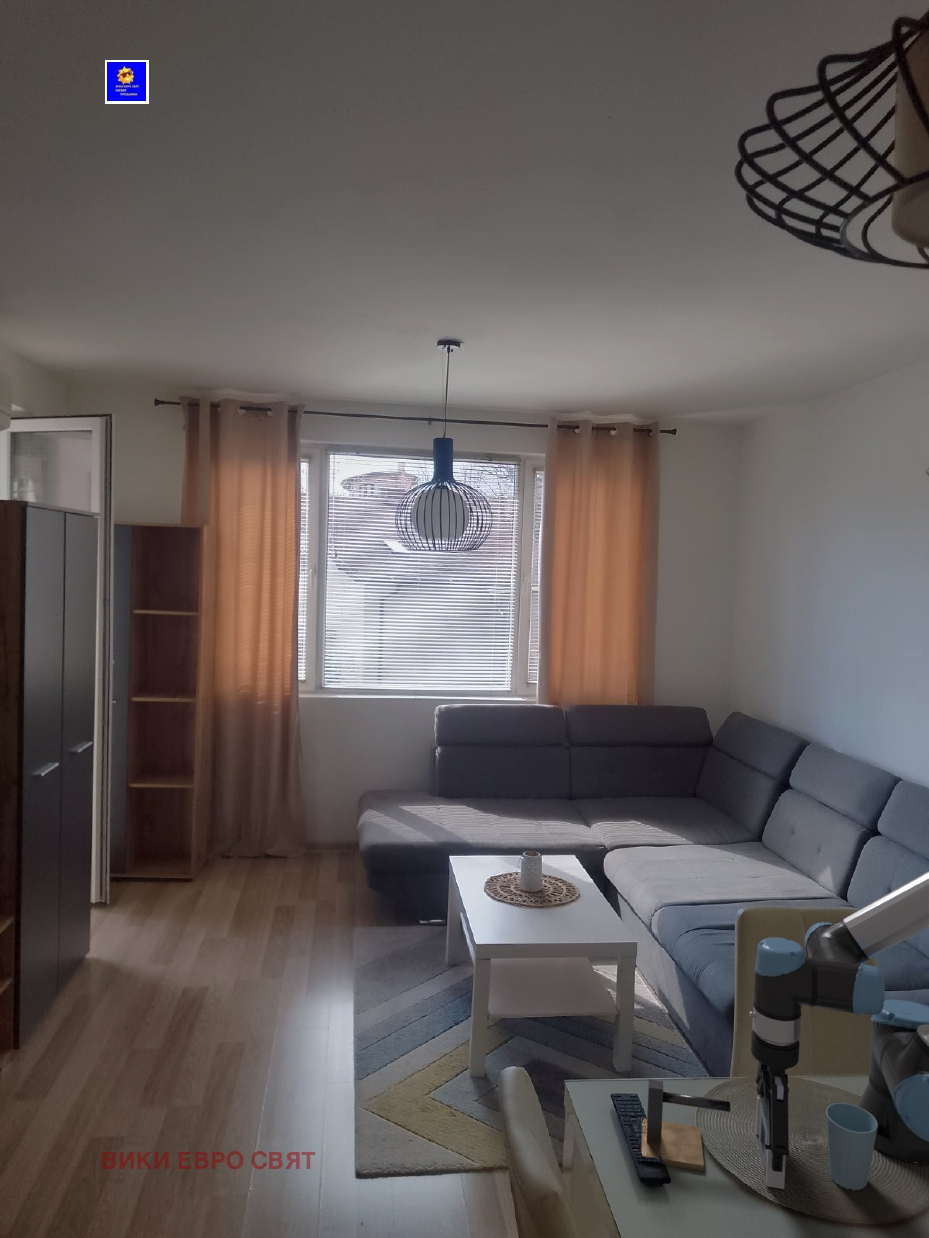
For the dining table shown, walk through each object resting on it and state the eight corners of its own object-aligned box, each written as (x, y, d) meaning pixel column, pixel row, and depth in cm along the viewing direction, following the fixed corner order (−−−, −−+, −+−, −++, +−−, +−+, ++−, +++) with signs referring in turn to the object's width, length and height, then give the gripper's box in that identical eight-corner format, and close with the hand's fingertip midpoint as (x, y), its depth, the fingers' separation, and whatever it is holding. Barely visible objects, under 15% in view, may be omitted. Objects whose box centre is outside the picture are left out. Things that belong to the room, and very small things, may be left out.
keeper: (724, 1136, 149) (727, 1077, 149) (730, 1175, 139) (733, 1113, 139) (641, 1123, 152) (643, 1066, 151) (641, 1160, 142) (643, 1099, 142)
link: (773, 1146, 147) (776, 1101, 147) (781, 1178, 139) (783, 1130, 139) (758, 1143, 148) (760, 1098, 147) (764, 1175, 140) (767, 1128, 139)
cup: (885, 1188, 138) (888, 1125, 137) (850, 1201, 134) (853, 1137, 134) (847, 1158, 144) (849, 1098, 144) (812, 1170, 141) (815, 1109, 141)
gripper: (743, 996, 155) (737, 1110, 156) (761, 1072, 131) (754, 1207, 132) (787, 1001, 153) (781, 1117, 155) (813, 1080, 129) (806, 1216, 131)
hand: (769, 1158), depth 143 cm, fingers open, 12 cm apart
